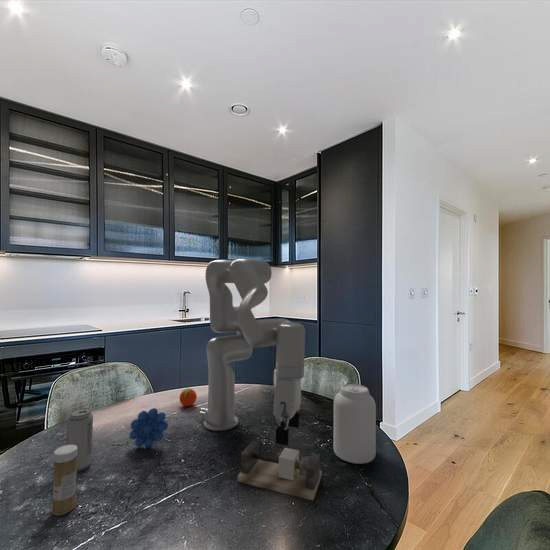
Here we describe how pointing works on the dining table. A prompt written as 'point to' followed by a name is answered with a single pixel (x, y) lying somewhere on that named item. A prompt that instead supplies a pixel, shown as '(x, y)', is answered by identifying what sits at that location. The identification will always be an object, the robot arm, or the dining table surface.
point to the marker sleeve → (288, 463)
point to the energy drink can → (81, 436)
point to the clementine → (188, 397)
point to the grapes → (148, 428)
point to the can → (354, 424)
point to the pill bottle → (64, 479)
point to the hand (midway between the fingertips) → (287, 434)
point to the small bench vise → (266, 473)
